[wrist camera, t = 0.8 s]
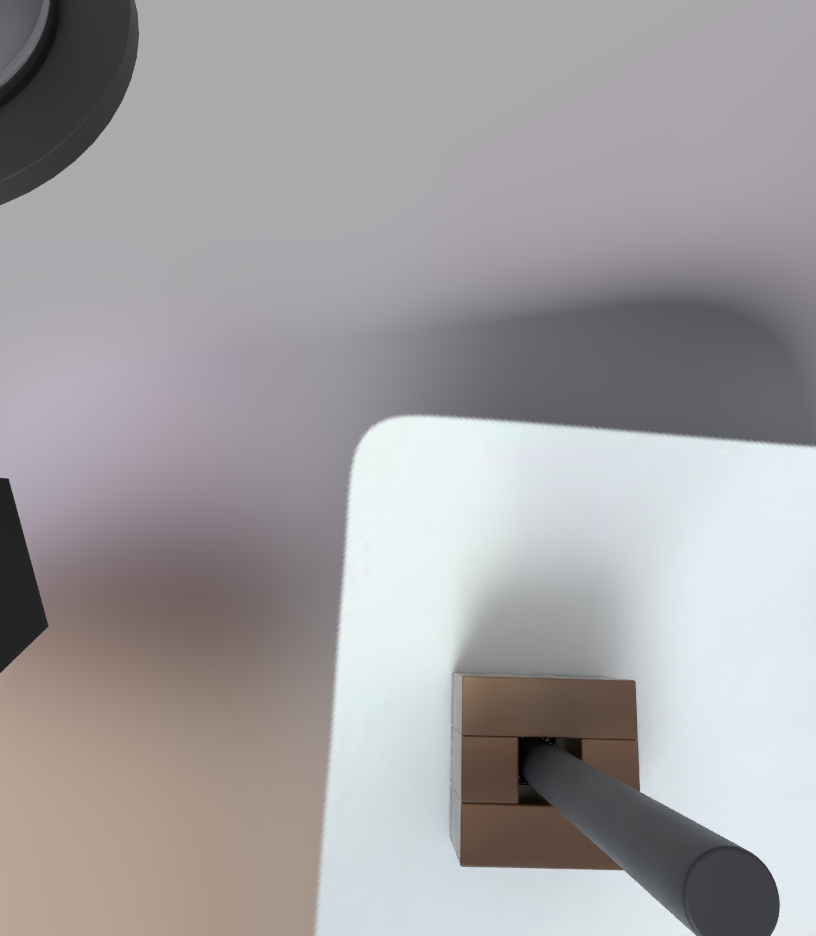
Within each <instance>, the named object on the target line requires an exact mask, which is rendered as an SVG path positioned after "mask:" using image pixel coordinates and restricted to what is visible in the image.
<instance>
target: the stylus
mask: <svg viewBox="0 0 816 936" xmlns="http://www.w3.org/2000/svg"><path fill="white" fill-rule="evenodd" d="M519 775H520V776H521V777H522V778H523V779H524V780H525V781H526V782H527V783H528V784H529V785H530V786H532V787H533V788H534V789H535V790H536V791H537V792H538V793H539V794H540V795H542V796H543V797H544V798H545V799H546V800H547V801H548V802H549V803H550V804H551V805H553V806H554V807H555V808H556V809H557V810H558V811H559V812H560V813H561V814H563V815H564V816H565V817H566V818H567V819H568V820H569V821H570V822H571V823H572V824H574V825H575V826H576V827H577V828H578V829H579V830H580V831H581V832H582V833H584V834H585V835H586V836H587V837H588V838H589V839H590V840H591V841H592V842H593V843H595V844H596V845H597V846H598V847H599V848H600V849H601V850H602V851H603V852H605V853H606V854H607V855H608V856H609V857H610V858H611V859H612V860H613V861H614V862H616V863H617V864H618V865H619V866H620V867H621V868H622V869H623V870H624V871H626V872H627V873H628V874H629V875H630V876H631V877H632V878H633V879H634V880H635V881H637V882H638V883H639V884H640V885H641V886H642V887H643V888H644V889H645V890H647V891H648V892H649V893H650V894H651V895H652V896H653V897H654V898H655V899H656V900H658V901H659V902H660V903H661V904H662V905H663V906H664V907H665V908H666V909H668V910H669V911H670V912H671V913H672V914H673V915H674V916H675V917H676V918H677V919H679V920H680V921H681V922H682V923H683V924H684V925H685V926H686V927H687V928H689V929H690V930H691V931H692V932H693V933H694V934H695V935H696V936H771V934H772V932H773V931H774V929H775V926H776V924H777V921H778V917H779V907H780V902H779V894H778V890H777V886H776V883H775V881H774V879H773V876H772V874H771V873H770V871H769V870H768V868H767V867H766V866H765V864H764V863H763V862H762V861H761V860H760V859H759V858H758V857H757V856H755V855H754V854H753V853H751V852H749V851H747V850H746V849H744V848H742V847H740V846H738V845H736V844H735V843H733V842H731V841H729V840H727V839H725V838H724V837H722V836H720V835H718V834H716V833H714V832H713V831H711V830H709V829H707V828H705V827H703V826H702V825H700V824H698V823H696V822H694V821H692V820H690V819H689V818H687V817H685V816H683V815H681V814H679V813H678V812H676V811H674V810H672V809H670V808H668V807H667V806H665V805H663V804H661V803H659V802H657V801H656V800H654V799H652V798H650V797H648V796H646V795H645V794H643V793H641V792H639V791H637V790H635V789H634V788H632V787H630V786H628V785H626V784H624V783H623V782H621V781H619V780H617V779H615V778H613V777H611V776H610V775H608V774H606V773H604V772H602V771H600V770H599V769H597V768H595V767H593V766H591V765H589V764H588V763H586V762H584V761H582V760H580V759H578V758H577V757H575V756H573V755H571V754H569V753H567V752H566V751H564V750H562V749H560V748H558V747H556V746H555V745H553V744H551V743H549V742H547V741H545V740H544V739H541V738H538V737H529V738H526V739H524V740H522V741H521V742H520V743H519Z"/></svg>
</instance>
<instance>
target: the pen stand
mask: <svg viewBox="0 0 816 936" xmlns="http://www.w3.org/2000/svg"><path fill="white" fill-rule="evenodd" d="M518 737H548V738H556V747H558V748H560V749H562V750H564V751H566V752H567V753H569V754H571V755H573V756H575V757H577V758H578V759H580V760H582V761H584V762H586V763H588V764H589V765H591V766H593V767H595V768H597V769H599V770H600V771H602V772H604V773H606V774H608V775H610V776H611V777H613V778H615V779H617V780H619V781H621V782H623V783H624V784H626V785H628V786H630V787H632V788H634V789H635V790H637V791H639V792H640V782H639V757H638V740H637V739H638V734H637V709H636V685H635V681H634V680H625V679H616V678H607V677H585V676H550V675H515V674H480V673H452V727H451V783H452V784H451V798H450V838H451V841H452V843H453V846H454V849H455V852H456V854H457V857H458V860H459V863H460V865H461V866H462V867H502V868H546V869H591V870H623V869H622V868H621V867H620V866H619V865H618V864H617V863H616V862H614V861H613V860H612V859H611V858H610V857H609V856H608V855H607V854H606V853H605V852H603V851H602V850H601V849H600V848H599V847H598V846H597V845H596V844H595V843H593V842H592V841H591V840H590V839H589V838H588V837H587V836H586V835H585V834H584V833H582V832H581V831H580V830H579V829H578V828H577V827H576V826H575V825H574V824H572V823H571V822H570V821H569V820H568V819H567V818H566V817H565V816H564V815H563V814H561V813H560V812H559V811H558V810H557V809H556V808H555V807H554V806H553V805H551V804H550V803H549V802H548V801H547V800H546V799H545V798H544V797H543V796H542V795H540V794H539V793H538V792H537V791H536V790H535V789H534V788H533V787H532V786H530V785H519V739H518Z"/></svg>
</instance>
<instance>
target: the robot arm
mask: <svg viewBox="0 0 816 936" xmlns="http://www.w3.org/2000/svg"><path fill="white" fill-rule="evenodd" d="M58 18H59V1H58V0H0V108H1V107H3V106H4V105H6V104H7V103H8V102H9V101H11V100H12V99H13V98H14V97H16V96H17V95H18V94H19V93H20V92H21V91H22V90H23V89H24V88H25V87H26V86H27V85H28V84H29V82H30V81H31V80H32V79H33V78H34V77H35V75H36V74H37V72H38V71H39V70H40V68H41V67H42V65H43V63H44V61H45V60H46V58H47V56H48V54H49V52H50V49H51V47H52V45H53V42H54V39H55V35H56V31H57V26H58ZM47 627H48V623H47V619H46V616H45V612H44V609H43V604H42V601H41V597H40V593H39V590H38V586H37V582H36V579H35V575H34V571H33V567H32V564H31V560H30V557H29V553H28V549H27V545H26V542H25V538H24V534H23V531H22V527H21V524H20V519H19V516H18V512H17V508H16V504H15V501H14V497H13V493H12V490H11V486H10V483H9V479H7V478H0V673H1V672H2V671H3V670H4V669H5V668H6V667H7V666H8V665H9V664H10V663H11V662H12V661H13V660H14V659H15V658H16V657H17V656H18V655H19V654H20V653H21V652H22V651H23V650H24V649H25V648H26V647H27V646H28V645H30V644H31V643H32V642H33V641H34V640H35V639H36V638H37V637H38V636H39V635H40V634H41V633H42V632H43V631H44V630H45V629H46V628H47Z"/></svg>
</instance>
